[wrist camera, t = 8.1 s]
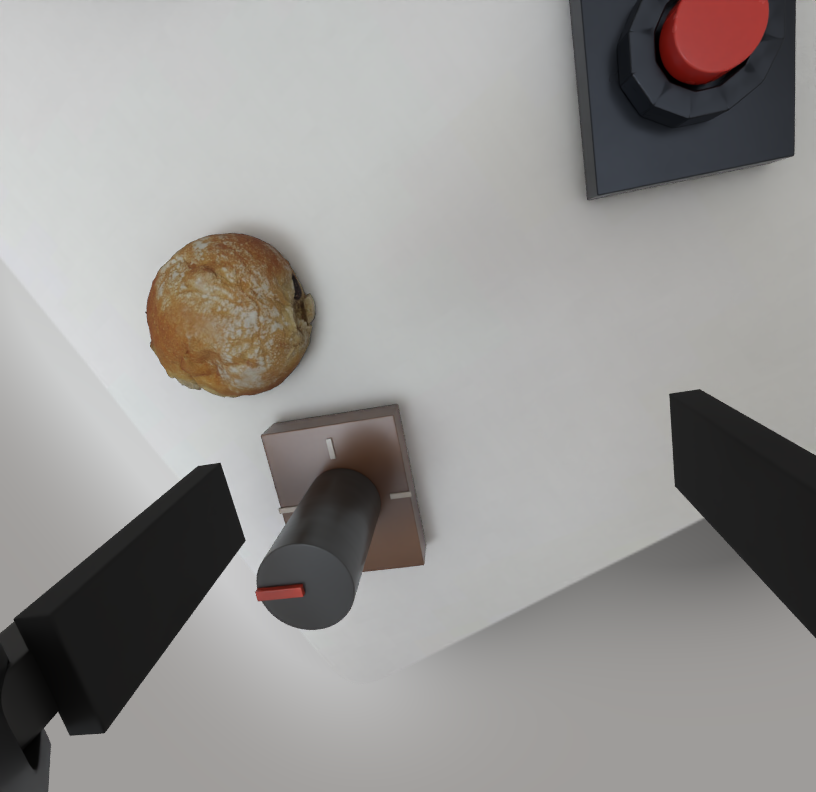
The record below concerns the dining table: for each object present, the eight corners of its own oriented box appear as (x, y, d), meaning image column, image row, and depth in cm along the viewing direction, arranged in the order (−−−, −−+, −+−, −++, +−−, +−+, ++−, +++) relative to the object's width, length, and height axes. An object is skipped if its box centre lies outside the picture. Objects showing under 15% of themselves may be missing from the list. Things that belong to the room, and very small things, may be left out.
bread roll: (330, 355, 37) (351, 355, 29) (199, 420, 34) (184, 439, 27) (267, 229, 35) (272, 193, 27) (122, 288, 32) (83, 267, 25)
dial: (372, 463, 32) (341, 541, 23) (387, 530, 33) (362, 630, 24) (300, 473, 33) (242, 553, 24) (316, 539, 34) (267, 638, 25)
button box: (769, 163, 28) (819, 148, 24) (587, 200, 29) (607, 191, 25) (768, -91, 25) (825, -155, 21) (565, -37, 26) (584, -88, 22)
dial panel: (427, 545, 36) (425, 566, 34) (308, 558, 37) (298, 580, 35) (399, 403, 34) (395, 415, 31) (272, 423, 35) (257, 436, 32)
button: (748, 74, 24) (770, 60, 22) (660, 94, 24) (676, 82, 23) (746, -22, 23) (769, -45, 21) (655, 1, 23) (671, -19, 22)
